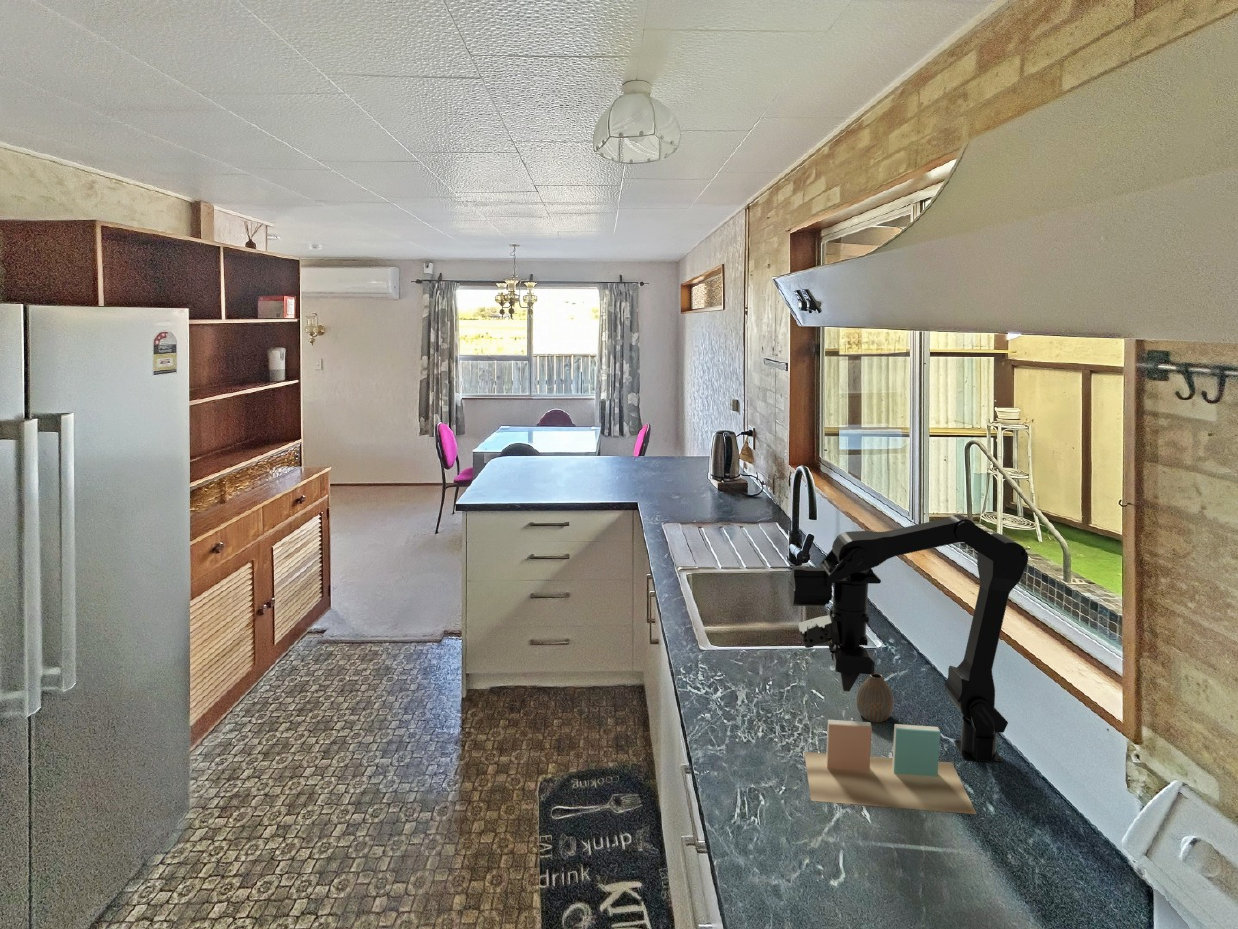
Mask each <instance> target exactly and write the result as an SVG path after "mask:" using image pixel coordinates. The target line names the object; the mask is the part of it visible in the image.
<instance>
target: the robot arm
mask: <svg viewBox="0 0 1238 929" xmlns="http://www.w3.org/2000/svg"><path fill="white" fill-rule="evenodd" d="M957 543H964V544H965V545H966V546H968V547H969V548H971V549H973V550H975V551H976V552H977V557H976V558H977V559H976V560H977V561H976V565H977V566H976V567H977V572H978V576H979V590H978V593H977V598H976V603H975V606H974V612H973V616H972V620H971V624H970V625H971V626H970V629H969V633H968V639H967V642H966V648H965V652H964V657H963V659H962V661H961V662H960V664H958V666H957V667H956V666H954V665H949V666H948V671H947V672H948V673H947V674H948V675H947V679H946V681H945V682H944V684H943V685H944V687H945V688H946V689H947V690H946V693H947V696H948V697H949V699H950V700H951V702H952V703H953V704H954V705H955V707H956V708H957V709H958V711H959V712H960V713H961V714H962V715H963V716H962V721H961V722H962V723H961V734H960V739H955V740H954V742H953V743H954V745H955V746H956V748H957V750H958V752H959V754H960V756H961V758H962V759H963V761H964V760H965V761H973V762H986V763H997V764H999V763H1000V764H1001V763H1002V762H1003V759H1002V757H1001V756H1000V754H999V752H998V751H997V742H998V741H997V738H998V733H1000V734H1003V733H1004V732H1005V730H1006V729H1007V727H1008V724H1009V722H1008V720H1006V718H1005V717H1004V716H1003V715H1002V714H1001V712H999V710H998V709H997V708H996V707H995V705H996V702H995V700H996V686H995V682H994V676H993V666H994V663H995V658H996V654H997V650H998V644H999V641H1000V636H1001V631H1002V627H1003V624H1004V623H1003V622H1004V618H1005V614H1006V609H1007V605H1008V602H1009V601H1008V600H1009V598H1010V597H1009V595H1010V594H1011V592H1012V591H1013V589H1014V588H1015V587H1016V586H1017V585H1018V584H1019V582H1021V580H1022V578H1023V576H1024V573H1025V570H1026V568H1027V565H1028V563H1029V554H1028V552H1027V550H1026V549H1025V547H1024V546H1022V545H1021V544H1020V543H1018V542H1016V540H1015V541H1014V540H1013V539H1011V538H1009V537H1008V536H1006V535H1004V534H1002V533H999V532H998V533H990V532H988V531H986V530H985V529H983V528H981V527H980V526H978V525H976V523H975V522H973V521H972V520H971V519H969V517H966V516H964V515H962V514H953V515H951V516H949V517H945V518H941V519H936V520H932V521H927V522H923V523H922V522H921V523H919V524H918V523H917V524H913V525H908V526H904V527H899V528H896V529H891V530H885V531H873V530H871V531H869V530H858V531H857V530H855V531H844V532H842V533H839V534H837V536H836V538H835V539H834V541H833V542H832V548H831V550H830V551H829V552H828V553H827V554H826V556H824V558H823V560H822V561H820V563H819V567H804V566H792V568H791V571H792V572H791V574H790V577H789V581H788V599H789V604H790V606H791V607H825V606H826V605H829V604H830V602H831V600H832V605H831V607H830V608H829V610H828V611H829V612H828V615H823V616H818V617H814V618H811V619H807V620H803V621H800V622H799V623H798V630H799V633H800V637H801V639H802V642H803V645H804V647H805V649H809V648H810V649H811V648H814V647H815V646H818V645H820V644H824V643H828V642H830V641H831V644H828V649H829V650H828V651H829V653H830V657H831V661H832V662H833V667H834V670H835V672H837V673H839V675H840V680H841V686H842V691H843V692H850V691H851V690H852V688H853V687H854V685H855V683H856V681H857V680H858V678H859V676H860V675H870V674H874V673H875V669H876V668H875V666H876V663H875V659H874V657H873V655H872V653H871V652H869V650H868V649H867V648H865V647H864V646H868V642H869V639H868V638H867V623H870V622H869V619H870V617H869V615H868V595H869V584H870V585H871V584H877V585H878V584H880V583H881V582H882V580H881V579H880V577H879V576H878V575H877V574H876V573H875V572H874V570H873V568H876V567H878V566H880V565H881V564H883V563H885V562H886V561H887V560H889V559H892V558H894V557H898V556H903V555H907V554H913V553H917V552H922V551H925V550H929V549H930V550H931V549H934V548H935V549H936V548H939V547H945V546H950V545H953V544H957Z"/></svg>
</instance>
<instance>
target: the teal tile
mask: <svg viewBox="0 0 1238 929" xmlns="http://www.w3.org/2000/svg"><path fill="white" fill-rule="evenodd" d="M893 728H894V729H893V745H892V746H893V747H892V758H893V760H892V769H893V772H894V773H897V774H911V775H924V776H938V762H940V761H939V759H940V758H939V756H940V746H941V745H940V744H941V742H940V741H941V731H940V728H939V727H938V726H928V725H916V724H915V725H913V724H900V723H894V727H893Z"/></svg>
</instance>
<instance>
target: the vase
mask: <svg viewBox="0 0 1238 929" xmlns="http://www.w3.org/2000/svg"><path fill="white" fill-rule="evenodd" d="M894 699H895V698H894V694H893V690H892V689H891V687H890V686H889V684H887V682H886V681H885V678H884V676H883V675H882V674H881V673H876V672H874V674H869V675H868V678H867V679H866V680H865V681H863V683H861V685H860V686H859V688H858V690H857V693H856V707H857V709H858V710H857V711H858V712H859V715H861V717H862V718H863V719H865V720H866V721H869V722H873V723H882V722H885V721H887V720H888V719H889V718H890V717H891V715H892V714H893V711H894V706H895V705H894V704H895V700H894Z"/></svg>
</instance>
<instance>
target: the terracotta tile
mask: <svg viewBox="0 0 1238 929" xmlns="http://www.w3.org/2000/svg"><path fill="white" fill-rule="evenodd" d="M872 728H873V727H872V723H871V721H869V722H868V721H855V720H842V719H841V720H837V719H827V728H826V729H827V734H826V735H827V736H826V752H825V753H826V765H827V768H831V769H844V770H858V771H870V757H871V748H872V730H873V729H872Z"/></svg>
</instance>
